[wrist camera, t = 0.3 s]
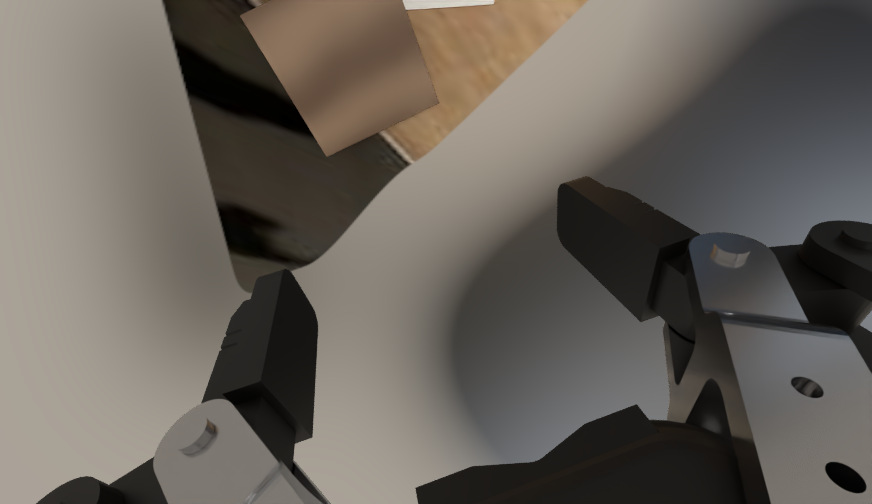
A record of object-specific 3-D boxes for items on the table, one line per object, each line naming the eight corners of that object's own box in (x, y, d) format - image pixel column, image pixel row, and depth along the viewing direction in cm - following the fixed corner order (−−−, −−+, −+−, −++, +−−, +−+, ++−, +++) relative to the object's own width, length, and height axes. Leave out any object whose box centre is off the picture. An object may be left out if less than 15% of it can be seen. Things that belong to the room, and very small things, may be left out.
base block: (252, 16, 27) (239, 15, 23) (377, -46, 26) (382, -56, 23) (328, 144, 33) (326, 156, 30) (429, 95, 33) (439, 103, 29)
